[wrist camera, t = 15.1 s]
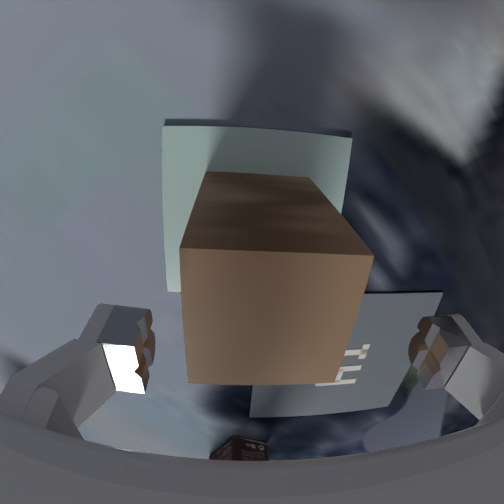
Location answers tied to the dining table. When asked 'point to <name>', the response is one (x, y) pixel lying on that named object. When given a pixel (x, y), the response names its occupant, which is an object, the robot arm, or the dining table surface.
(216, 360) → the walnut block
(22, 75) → the dining table surface
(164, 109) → the dining table surface
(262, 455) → the box
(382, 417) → the dining table surface
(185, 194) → the pad
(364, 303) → the grey mat
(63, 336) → the dining table surface
